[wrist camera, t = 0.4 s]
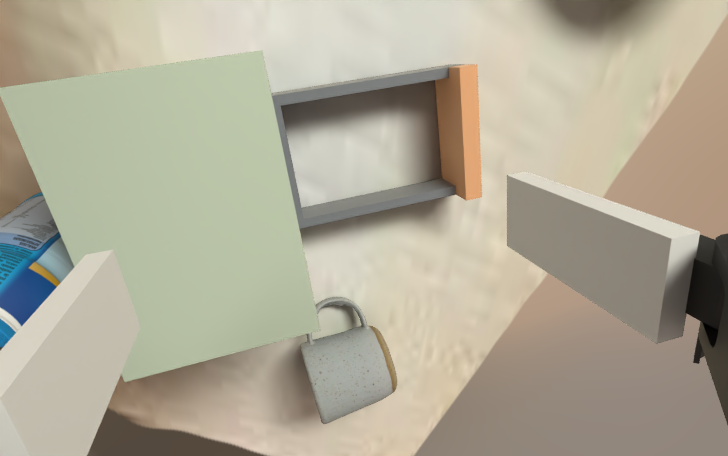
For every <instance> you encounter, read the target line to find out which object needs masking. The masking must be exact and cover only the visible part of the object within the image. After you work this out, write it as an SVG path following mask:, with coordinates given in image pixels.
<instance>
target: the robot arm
mask: <svg viewBox="0 0 728 456" xmlns="http://www.w3.org/2000/svg"><path fill="white" fill-rule="evenodd" d="M507 246H508V247H510V248H511V249H513V250H514V251H516V252H517V253H519V254H520V255H522V256H523V257H525V258H526V259H528V260H529V261H531V262H533V263H534V264H536V265H537V266H539V267H540V268H542V269H543V270H545V271H546V272H548V273H549V274H551V275H553V276H554V277H555V278H557V279H559V280H560V281H562V282H563V283H565V284H566V285H568V286H569V287H571V288H572V289H574V290H575V291H577V292H578V293H580V294H581V295H583V296H584V297H586V298H587V299H589V300H590V301H592V302H593V303H595V304H597V305H598V306H600V307H601V308H603V309H604V310H606V311H607V312H609V313H610V314H612V315H613V316H615V317H617V318H618V319H620V320H621V321H622V322H624V323H626V324H627V325H629V326H630V327H632V328H633V329H635V330H636V331H638V332H639V333H641V334H643V335H644V336H645V337H647V338H648V339H650V340H651V341H653V342H654V343H656V344H657V343H661V342H664V341H668V340H671V339H675V338H678V337H682V336H683V331H684V325H685V319H686V313H687V314H689V315H691V316H692V317H694V318H696V319H698V320H700V321H701V322H700V327H699V333H698V339H697V344H696V349H695V355H694V363H699V361H700V358H701V357H703V356H705V358H706V361H707V365H708V367H709V370H710V373H711V376H712V379H713V382H714V385H715V388H716V391H717V394H718V397H719V400H720V403H721V406H722V409H723V412H724V415H725V418H726V421H727V424H728V234H723V235H720V236H718V237H717V238H716V240H714V239H711V238H708V237H706V236H703V235H700V232H698V231H696V230H693V229H690V228H687V227H684V226H681V225H679V224H676V223H672V222H670V221H667V220H664V219H661V218H658V217H655V216H653V215H650V214H647V213H644V212H641V211H638V210H635V209H632V208H629V207H627V206H623V205H621V204H618V203H615V202H612V201H609V200H606V199H604V198H601V197H598V196H595V195H592V194H589V193H586V192H583V191H580V190H578V189H575V188H572V187H569V186H566V185H563V184H560V183H557V182H555V181H552V180H549V179H546V178H543V177H540V176H537V175H534V174H531V173H529V172H522V173H516V174H511V175H507ZM139 330H140V324H139V321H138V318H137V316H136V313H135V310H134V307H133V304H132V301H131V298H130V295H129V293H128V290H127V287H126V284H125V281H124V278H123V275H122V273H121V270H120V267H119V264H118V261H117V258H116V255H115V252H114V250H108V251H102V252H97V253H92V254H86V255H85V256H84V257H83V258H82V259H81V261H80V262H79V263H78V264H77V265H76V266H75V267H74V268H73V270H72V271H71V272H70V273H69V274H68V275H67V276H66V277H65V279H64V280H63V281H62V282H61V283H60V284H59V285H58V286H57V288H56V289H55V290H54V291H53V292H52V293H51V294H50V295H49V297H48V298H47V299H46V300H45V301H44V302H43V303H42V304H41V305H40V307H39V308H38V309H37V310H36V311H35V312H34V313H33V314H32V316H31V317H30V318H29V319H28V320H27V321H26V322H25V323H24V325H23V326H22V327H21V328H20V329H19V330H18V331H17V332H16V334H15V335H14V336H13V337H12V338H11V339H10V340H9V341H8V343H7V344H6V345H5V346H4V347H0V456H87V454H88V452H89V449H90V447H91V445H92V442H93V440H94V438H95V435H96V433H97V430H98V428H99V425H100V423H101V421H102V418H103V416H104V414H105V411H106V409H107V406H108V404H109V402H110V399H111V397H112V394H113V392H114V390H115V387H116V385H117V382H118V380H119V378H120V375H121V373H122V371H123V368H124V366H125V363H126V361H127V359H128V356H129V354H130V351H131V349H132V347H133V344H134V342H135V339H136V337H137V335H138V332H139Z"/></svg>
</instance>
